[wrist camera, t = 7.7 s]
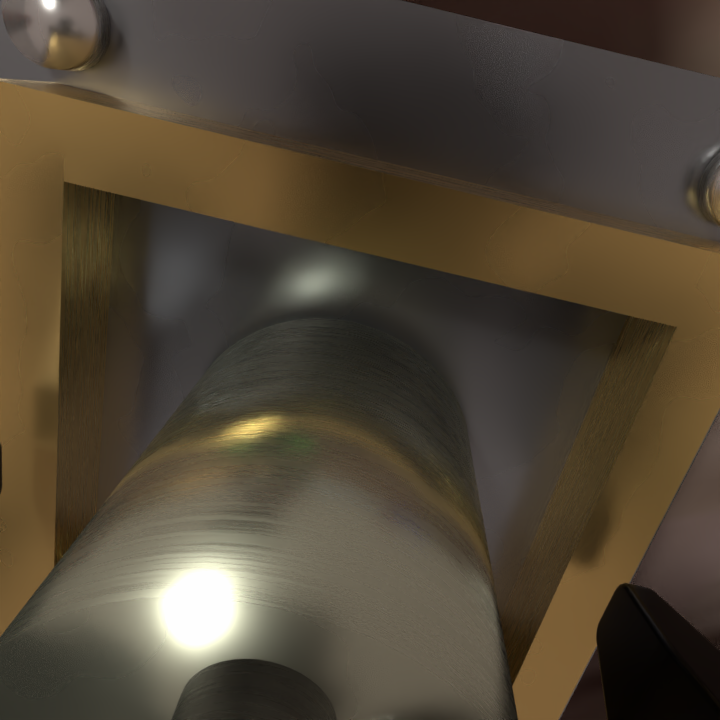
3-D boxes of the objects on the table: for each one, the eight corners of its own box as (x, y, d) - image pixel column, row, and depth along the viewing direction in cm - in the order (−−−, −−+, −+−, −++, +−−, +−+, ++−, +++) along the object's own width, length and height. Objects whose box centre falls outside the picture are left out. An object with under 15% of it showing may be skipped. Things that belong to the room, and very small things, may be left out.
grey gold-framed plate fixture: (508, 665, 16) (542, 856, 12) (68, 564, 16) (-51, 723, 12) (754, 112, 11) (970, 116, 7) (91, -48, 11) (-114, -148, 6)
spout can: (427, 591, 12) (448, 1230, 5) (172, 533, 12) (-146, 1101, 5) (507, 358, 10) (716, 900, 3) (202, 286, 10) (-258, 682, 3)
